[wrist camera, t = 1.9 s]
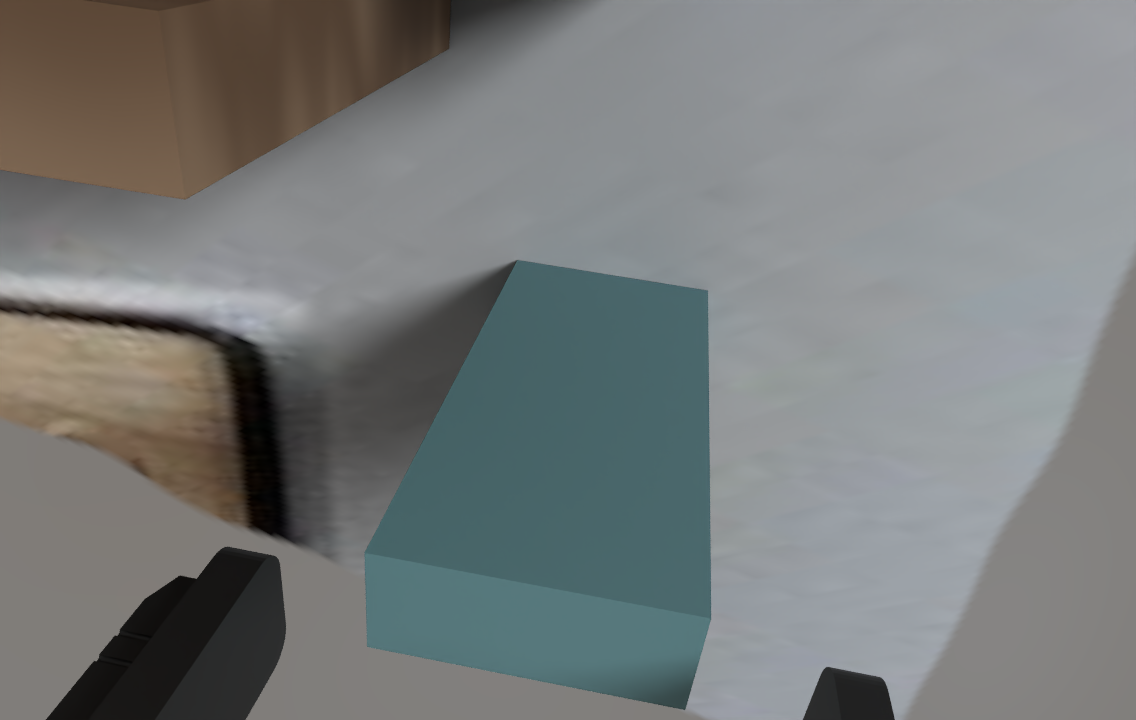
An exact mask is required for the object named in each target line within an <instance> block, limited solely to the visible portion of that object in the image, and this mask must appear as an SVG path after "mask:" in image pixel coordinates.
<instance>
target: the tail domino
mask: <svg viewBox="0 0 1136 720" xmlns="http://www.w3.org/2000/svg"><path fill="white" fill-rule="evenodd" d="M365 584H366V618H367V647H371V648H376V649H381V650H386V651H391V652H396V653H401V654H406V655H411V656H417V657H422V658H426V659H431V660H436V661H441V662H447V663H451V664H456V665H462V666H467V667H471V668H477V669H482V670H487V671H492V672H497V673H502V674H507V675H512V676H517V677H522V678H527V679H532V680H538V681H542V682H548V683H553V684H557V685H562V686H567V687H572V688H577V689H582V690H587V691H593V692H597V693H602V694H608V695H613V696H618V697H623V698H628V699H633V700H638V701H643V702H648V703H653V704H658V705H663V706H668V707H673V708H678V709H683V710H685V709H686V705H687V702H688V698H689V695H690V691H691V688H692V684H693V680H694V677H695V673H696V670H697V666H698V663H699V659H700V656H701V652H702V649H703V645H704V642H705V638H706V635H707V631H708V628H709V624H710V621H711V556H710V456H709V356H708V291H706V290H700V289H694V288H688V287H682V286H675V285H669V284H663V283H657V282H650V281H644V280H638V279H632V278H625V277H619V276H613V275H607V274H600V273H594V272H588V271H582V270H575V269H569V268H563V267H557V266H551V265H544V264H538V263H532V262H526V261H519V260H517V262H516V264H515V266H514V268H513V270H512V272H511V273H510V275H509V277H508V279H507V281H506V283H505V285H504V287H503V289H502V291H501V293H500V295H499V296H498V298H497V300H496V302H495V304H494V306H493V308H492V310H491V312H490V314H489V316H488V317H487V319H486V321H485V323H484V325H483V327H482V329H481V331H480V333H479V335H478V337H477V339H476V340H475V342H474V344H473V346H472V348H471V350H470V352H469V354H468V356H467V358H466V360H465V362H464V363H463V365H462V367H461V369H460V371H459V373H458V375H457V377H456V379H455V381H454V383H453V385H452V386H451V388H450V390H449V392H448V394H447V396H446V398H445V400H444V402H443V404H442V406H441V408H440V409H439V411H438V413H437V415H436V417H435V419H434V421H433V423H432V425H431V427H430V429H429V431H428V432H427V434H426V436H425V438H424V440H423V442H422V444H421V446H420V448H419V450H418V452H417V453H416V455H415V457H414V459H413V461H412V463H411V465H410V467H409V469H408V471H407V473H406V475H405V476H404V478H403V480H402V482H401V484H400V486H399V488H398V490H397V492H396V494H395V496H394V498H393V499H392V501H391V503H390V505H389V507H388V509H387V511H386V513H385V515H384V517H383V519H382V521H381V522H380V524H379V526H378V528H377V530H376V532H375V534H374V536H373V538H372V540H371V542H370V544H369V545H368V547H367V549H366V551H365Z"/></svg>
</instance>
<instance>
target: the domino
mask: <svg viewBox="0 0 1136 720" xmlns="http://www.w3.org/2000/svg"><path fill="white" fill-rule="evenodd" d="M450 8H451V0H0V170H4V171H11V172H17V173H23V174H29V175H36V176H42V177H48V178H54V179H61V180H67V181H73V182H79V183H86V184H92V185H98V186H104V187H110V188H117V189H123V190H129V191H135V192H142V193H148V194H154V195H160V196H167V197H173V198H179V199H187V198H189V197H190V196H192V195H194V194H196V193H197V192H199V191H201V190H203V189H204V188H206V187H208V186H210V185H211V184H213V183H215V182H217V181H218V180H220V179H222V178H224V177H225V176H227V175H229V174H231V173H232V172H234V171H236V170H238V169H239V168H241V167H243V166H245V165H246V164H248V163H250V162H252V161H253V160H255V159H257V158H259V157H260V156H262V155H264V154H266V153H267V152H269V151H271V150H273V149H274V148H276V147H278V146H280V145H281V144H283V143H285V142H287V141H288V140H290V139H292V138H294V137H295V136H297V135H299V134H301V133H302V132H304V131H306V130H308V129H309V128H311V127H313V126H315V125H316V124H318V123H320V122H322V121H323V120H325V119H327V118H329V117H330V116H332V115H334V114H336V113H337V112H339V111H341V110H343V109H344V108H346V107H348V106H350V105H351V104H353V103H355V102H357V101H358V100H360V99H362V98H364V97H365V96H367V95H369V94H371V93H372V92H374V91H376V90H378V89H379V88H381V87H383V86H385V85H386V84H388V83H390V82H392V81H393V80H395V79H397V78H399V77H400V76H402V75H404V74H406V73H407V72H409V71H411V70H413V69H414V68H416V67H418V66H420V65H421V64H423V63H425V62H427V61H428V60H430V59H432V58H434V57H435V56H437V55H439V54H440V53H442V52H444V51H446V50H447V49H449V40H450Z"/></svg>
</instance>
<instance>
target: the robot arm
mask: <svg viewBox="0 0 1136 720" xmlns="http://www.w3.org/2000/svg"><path fill="white" fill-rule="evenodd" d="M285 634H286V622H285V611H284V601H283V591H282V581H281V571H280V563H279V560H278V558H277V557H275V556H272V555H268V554H262V553H257V552H252V551H247V550H242V549H237V548H232V547H224V548H222V549H221V550H220V551H218V553H216V555H215V556H214V557H213V559H212V560H211V561H210V562H209V564H208V565H207V566H206V567H205V569H204V570H203V571H202V573H201V574H200V575H199V577H198V578H197V579H194V578H189V577H184V576H178V577H177V578H175V579H174V580H173V581H171V582H170V583H168V584H167V585H165V586H164V587H162V588H161V589H159V590H158V591H156V592H155V593H153V594H152V595H150V596H149V597H147V598H146V599H145V600H144V601H143V602H142V603H141V604H140V606H139V607H138V608H137V609H136V610H135V612H134V613H133V614H132V615H131V617H130V618H129V619H128V620H127V622H126V623H125V624H124V625H123V626H122V628H121V629H120V633H119V635H118V636H114V637H113V639H112V640H111V641H110V642H109V643H108V645H107V646H106V647H105V648H104V650H103V651H102V652H101V653H100V654H99V659H98V660H97V661H94V662H93V663H92V664H91V665H90V667H89V668H88V669H87V670H86V671H85V673H84V674H83V675H82V676H81V678H80V679H79V680H78V681H77V682H76V684H75V685H74V686H73V687H72V688H71V690H70V691H69V692H68V693H67V695H66V696H65V697H64V698H63V699H62V701H61V702H60V703H59V704H58V706H57V707H56V708H55V709H54V711H53V712H52V713H51V714H50V715H49V717H48V718H47V719H46V720H245V719H246V718H247V716H248V714H249V713H250V711H251V709H252V707H253V706H254V704H255V702H256V701H257V699H258V697H259V695H260V694H261V692H262V690H263V688H264V687H265V685H266V683H267V681H268V680H269V677H270V676H271V674H272V673H273V671H274V669H275V667H276V665H277V663H278V660H279V658H280V655H281V651H282V649H283V645H284V640H285ZM803 720H895V719H894V714H893V710H892V706H891V701H890V697H889V693H888V689H887V686H886V683H885V682H884V680H883V679H882V678H880V677H876V676H871V675H866V674H861V673H856V672H851V671H846V670H841V669H836V668H831V667H826V668H825V669H824V670H823V672H822V674H821V676H820V678H819V681H818V683H817V686H816V688H815V691H814V693H813V696H812V698H811V701H810V703H809V706H808V708H807V711H806V713H805V716H804V718H803Z"/></svg>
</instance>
